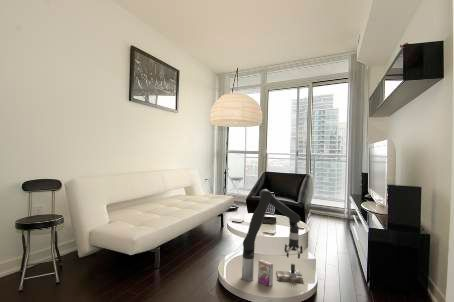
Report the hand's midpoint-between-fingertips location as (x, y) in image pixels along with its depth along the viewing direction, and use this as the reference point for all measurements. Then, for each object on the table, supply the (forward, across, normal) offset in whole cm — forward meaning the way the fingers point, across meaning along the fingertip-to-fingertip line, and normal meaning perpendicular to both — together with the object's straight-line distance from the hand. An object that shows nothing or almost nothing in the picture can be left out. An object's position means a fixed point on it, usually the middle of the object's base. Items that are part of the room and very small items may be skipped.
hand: (293, 257), depth 195 cm
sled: (+16, 0, +4) cm, 17 cm away
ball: (+15, +5, +7) cm, 17 cm away
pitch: (+18, -2, +5) cm, 19 cm away
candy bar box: (+19, -23, -9) cm, 31 cm away
